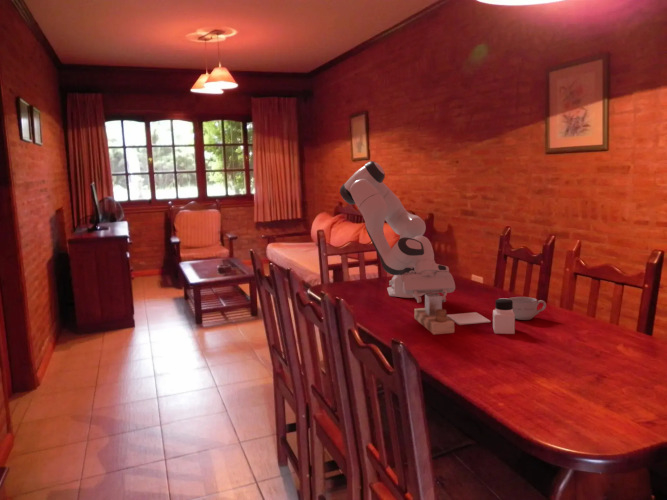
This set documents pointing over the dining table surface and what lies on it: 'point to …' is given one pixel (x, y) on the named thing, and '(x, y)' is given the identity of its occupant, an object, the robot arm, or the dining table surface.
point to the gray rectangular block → (432, 304)
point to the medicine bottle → (504, 317)
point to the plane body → (435, 321)
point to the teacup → (526, 307)
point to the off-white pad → (468, 318)
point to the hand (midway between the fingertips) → (431, 301)
